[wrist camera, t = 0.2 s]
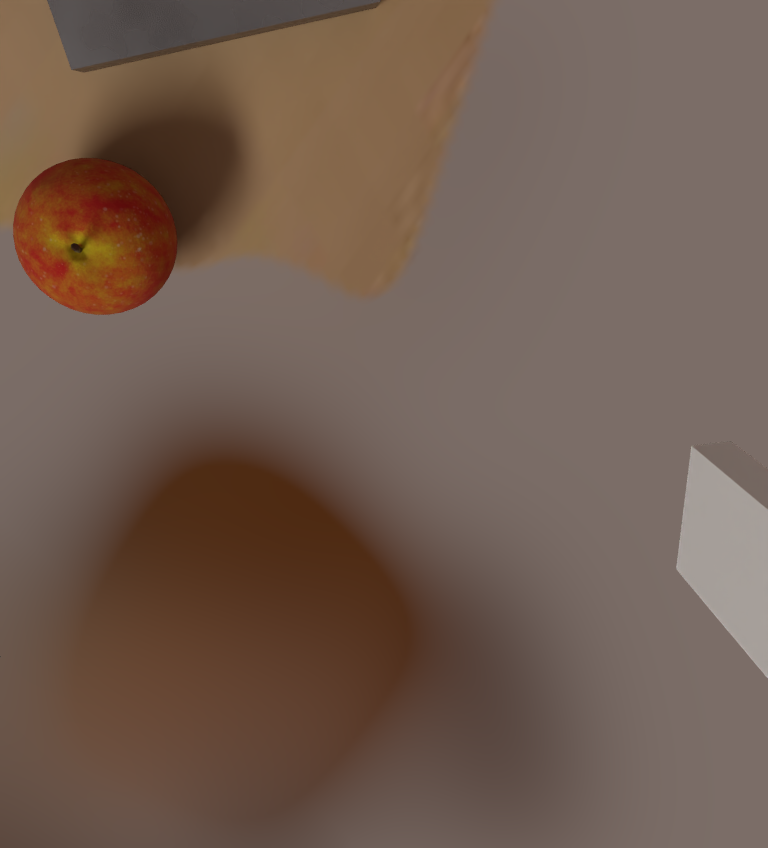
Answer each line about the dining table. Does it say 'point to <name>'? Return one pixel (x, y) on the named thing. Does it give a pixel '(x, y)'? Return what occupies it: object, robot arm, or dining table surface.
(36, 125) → the dining table surface
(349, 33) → the dining table surface
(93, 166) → the fruit
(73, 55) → the panel
